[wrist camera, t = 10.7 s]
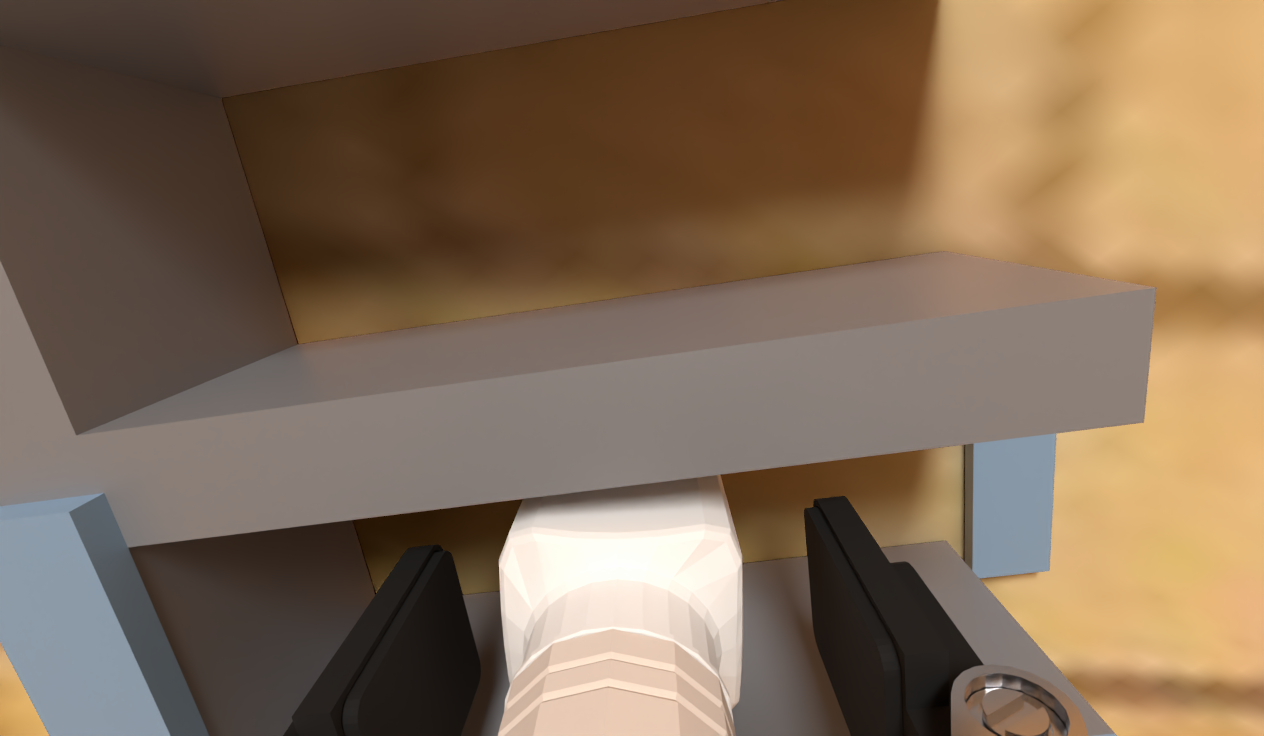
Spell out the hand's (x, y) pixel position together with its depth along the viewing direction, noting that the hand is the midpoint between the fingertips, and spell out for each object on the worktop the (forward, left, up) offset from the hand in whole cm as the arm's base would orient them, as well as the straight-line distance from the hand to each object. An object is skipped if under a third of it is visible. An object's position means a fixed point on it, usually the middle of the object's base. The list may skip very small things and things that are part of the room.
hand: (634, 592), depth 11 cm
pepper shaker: (0, 0, -5) cm, 5 cm away
